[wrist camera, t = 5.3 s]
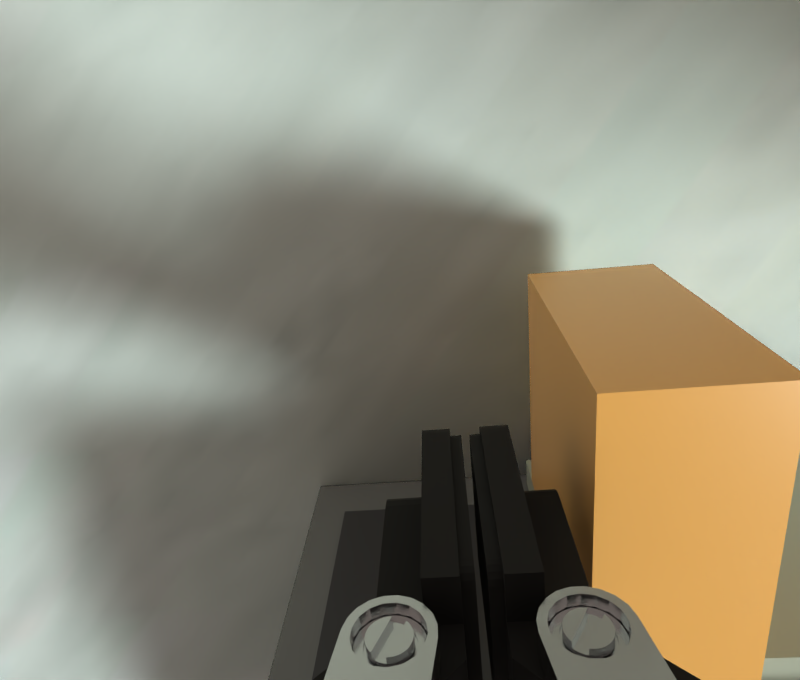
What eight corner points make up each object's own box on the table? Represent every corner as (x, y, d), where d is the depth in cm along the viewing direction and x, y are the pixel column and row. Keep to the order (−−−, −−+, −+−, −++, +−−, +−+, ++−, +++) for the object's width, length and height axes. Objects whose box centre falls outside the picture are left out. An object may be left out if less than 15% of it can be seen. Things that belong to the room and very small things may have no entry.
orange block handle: (885, 234, 15) (1275, 348, 8) (838, 465, 18) (1108, 704, 11) (521, 263, 16) (596, 394, 9) (526, 482, 18) (588, 719, 11)
